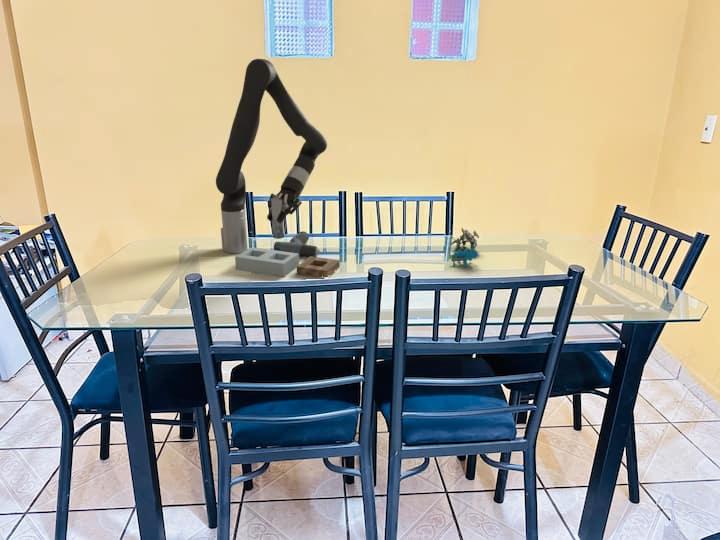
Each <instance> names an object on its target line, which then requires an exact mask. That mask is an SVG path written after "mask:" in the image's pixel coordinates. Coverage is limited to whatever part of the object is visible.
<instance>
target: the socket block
mask: <svg viewBox="0 0 720 540" xmlns="http://www.w3.org/2000/svg"><path fill="white" fill-rule="evenodd" d="M340 263H341V261H340V260H339V259H332V258H326V257H320V256H319V257H317V256H308V258H306V259H305V260H304V261H302V262H301V263H299V265H298V266H297V268H296V275H301V276H306V277H312V278H318V277H322V276H323V277H328V276H329V275H331V274H332V273H333V272H334V271H335V270H337V269H338V268H339V267H341V265H340ZM339 269H340V268H339ZM339 269H338V270H339ZM338 270H337V271H338ZM334 273H335V272H334ZM334 273H333V274H334ZM333 274H332V275H333ZM332 275H331V276H332Z"/></svg>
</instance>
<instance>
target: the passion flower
mask: <svg viewBox="0 0 720 540" xmlns="http://www.w3.org/2000/svg"><path fill="white" fill-rule="evenodd" d="M461 232H462V234H461V235H460V236H459V237H457V238H455V237H453V234H450V239H451V240H452V239H454V241H452V242H451V244H450V246H453V245H454V244H456V246H455V249H454V251H456V250H457V248H459V247H460V246H461V244H462V246H463V247H464V246H466V245H467V243H469V244H470V249H473V252H474V251H477V250H476V247H478V243H477V239H479V238H480V236H479V234H478V233H477V231H476V230H473V232H470V231H469V230H467V229H465V230H464V228H463V227H462V228H461ZM472 233H473V234H472ZM475 237H476V238H477V239H476V238H475Z"/></svg>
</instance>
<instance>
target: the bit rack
mask: <svg viewBox="0 0 720 540" xmlns="http://www.w3.org/2000/svg"><path fill="white" fill-rule="evenodd" d="M234 260H235V261H234V263H235V270H236V271H237V270H238V271H243V272H244V271H245V272H249V273H250V272H251V273H257V274H261V275H263V274H264V275H269V276H274V277H275V276H276V277H283V278H285V277H286V276H288V275H290V274H291V273H292V272H293V271H294V270H297V266H298V265H299V264H300V256H299V254H298V253H291V252H284V251H276V250H274V249H267V248H260V247H253V246H252V247H250V248H248V250H246V251H244V252H242V253H238V254H237V255H236V256H234Z"/></svg>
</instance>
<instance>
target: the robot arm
mask: <svg viewBox="0 0 720 540" xmlns="http://www.w3.org/2000/svg"><path fill="white" fill-rule="evenodd" d="M242 86H243V88H242V92H241V97H240V99H239V102H238V106H237V109H236V112H235V116H234V119H233V122H232V125H231V129H230V132H229V133H230V134H229V138H228V141H227V145H226V149H225V153H224V156H223V160H222V162H221V165H220V166H219V169H218V173H217V174H216V177H215V185H216V189H217V191H219V192H220V194H223V197H222V200H221V202H220V211H221V213H220V214H221V222H222V223H221V224H222V227H220V235H221V236H220V237H221V238H220V239H221V248H222V250H221V251H223V252H225V253H227V254H241V253H243V252H244V251H246V250H248V249H249V248H248V235H247V221H246V206H245V205H246V202H247V190H246V186H247V185H246V179H245V175H244V172H242V171H241V170H242V167H243V163H244V162H245V159H246V158H247V156H248V154H249V152H250V151H251V149H252V147H253V145H254V143H255V140H256V137H257V134H258V132H259V127H260V122H261V121H260V120H261V105H262V102H263V101H262V100H263V97H264V94H265V91H266V92H267V94H269V96H270V98H272V100H273V101H274V103H275V105H276V107H277V109H278V111H279V113H280V114H281V117H282V118H283V121H284V122H285V123H286V125H288V127H289V128H290V130H291V131H292V132H293V134H294V135H295V136H296V137H302V138H303V139H304V143H303V144H302V146H301V148H300V151H299V154H298V157H297V159H296V160H295V162H294V163H293V164H292V165H293V166H292V167H291V168H290V170H289V171H288V173H287V174H286V176H285V178H284V180H283V181H282V183H281V185H280V190H279V191H278V192H277V194H275V193H273V192H272V193H271V194H270V195H269V200H268V204H267V207H268V208H269V209H270V210H269V212H268V214H267V216H266V219H267V220H268V221H269V222H272V210H271V199H272V198H282V201H283V209H282V212H280V214H279V216H278V218H277V222H278V223H282V222H283V223H284V220H285V219H286V217H287V216H288V215H293V214H294V213H295V212H296V211H297V209H298V208H299V207H300V206H301V205H302V203H303V202H302V201H301V199H300V198H299V197H300V195H302V192H303V190H304V189H305V186H306V185H307V182H308V181H309V178H310V177H311V174H312V172H313V170H314V168H315V165H316V160H317V159H318V157H319V156H320V155H321V154H322V153H325V151H326V150H327V148H328V143H327V140H326V137H325V135H324V134H322V132H321V131H320V130H318V129H317V128H316V127H315V125H313V124H311V122H310V121H309V120H308V118H307V117H306V115H305V114H304V113H303V111H302V110H301V109H300V107H299V106H298V104H297V103H296V102H295V100H294V99H293V98H292V96H291V94H289V91H288V90H287V89H286V87H285V84H284V83H283V82H282V80H281V77H280V75H279V74H278V72H277V70H276V68H275V66H274V64H273V63H272V62H271V61H269V60H268V59H265V58H255V59H252V60H251V61H250V62H249V63H248V65H246V70H245V75H244V81H243V85H242Z"/></svg>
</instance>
